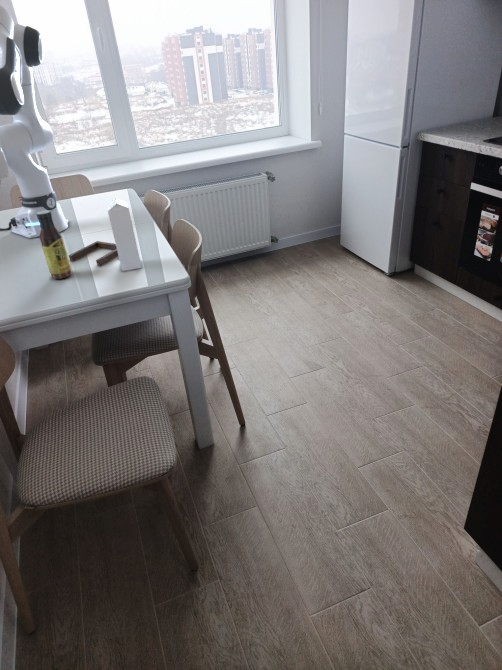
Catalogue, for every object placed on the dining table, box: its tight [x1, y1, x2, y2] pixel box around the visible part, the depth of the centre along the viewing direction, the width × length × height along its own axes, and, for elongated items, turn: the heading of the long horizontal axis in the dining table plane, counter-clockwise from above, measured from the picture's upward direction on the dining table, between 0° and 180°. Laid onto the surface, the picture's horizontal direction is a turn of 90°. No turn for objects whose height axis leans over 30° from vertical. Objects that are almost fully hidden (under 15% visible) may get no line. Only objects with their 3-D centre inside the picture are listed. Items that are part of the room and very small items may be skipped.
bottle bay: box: [68, 240, 119, 267], centre depth 157 cm, size 13×13×2 cm
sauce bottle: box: [36, 210, 72, 280], centre depth 141 cm, size 7×6×20 cm
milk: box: [106, 195, 142, 272], centre depth 143 cm, size 6×6×22 cm
